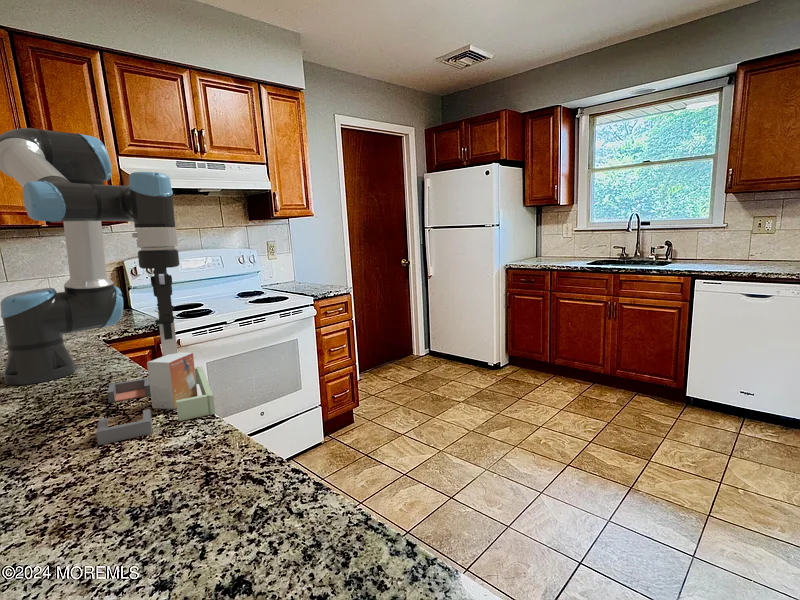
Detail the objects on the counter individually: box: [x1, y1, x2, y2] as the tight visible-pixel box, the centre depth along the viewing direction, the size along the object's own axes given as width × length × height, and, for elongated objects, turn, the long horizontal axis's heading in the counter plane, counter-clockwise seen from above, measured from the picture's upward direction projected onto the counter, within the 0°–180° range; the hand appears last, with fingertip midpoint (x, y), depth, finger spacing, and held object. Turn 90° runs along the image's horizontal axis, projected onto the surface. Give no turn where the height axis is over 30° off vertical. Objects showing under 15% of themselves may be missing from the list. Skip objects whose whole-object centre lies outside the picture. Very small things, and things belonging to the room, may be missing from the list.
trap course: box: [95, 366, 216, 446], centre depth 95 cm, size 30×20×4 cm
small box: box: [146, 351, 198, 410], centre depth 96 cm, size 8×6×10 cm
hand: (168, 346), depth 95 cm, fingers open, 13 cm apart
